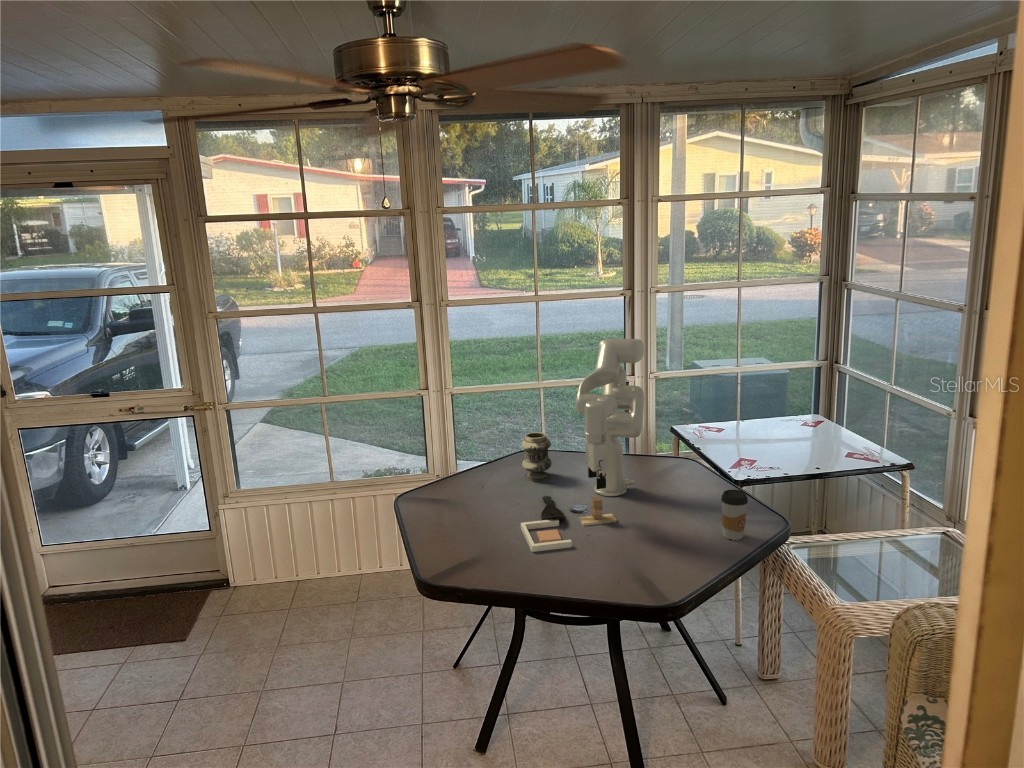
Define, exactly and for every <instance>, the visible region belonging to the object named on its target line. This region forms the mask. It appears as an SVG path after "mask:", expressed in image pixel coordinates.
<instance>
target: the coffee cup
mask: <svg viewBox="0 0 1024 768" xmlns="http://www.w3.org/2000/svg"><path fill="white" fill-rule="evenodd" d="M748 500H749V498H748V496H747V493H746V492H745V491H742V490H739V489H726V490H724V491H722V495H721V523H722V535H723V537H724V536H725V537H726V538H728V539H732V540H731V541H734V540H736V541H739V540H738V539H741V538H742V539H743V538H744V533H745V527H746V520H747V519H746V518H747V507H748V503H749V501H748ZM725 537H724V538H725ZM726 538H725V539H726ZM728 539H727V540H728ZM742 539H741V540H742Z"/></svg>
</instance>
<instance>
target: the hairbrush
mask: <svg viewBox="0 0 1024 768" xmlns="http://www.w3.org/2000/svg"><path fill="white" fill-rule="evenodd" d="M542 501H544V502H545V504H546V505H545V506H544V507H543V510H541V513H540V519H541V521H542V520H551V519H558V520H560V519H561V520H563V519H566V515H565V511H564V509H560V508H559V507H558V506H557V507H556V504H554V503H553V502H552V501H553V500H552V496H551V495H550V496H549V495H544V496H542Z"/></svg>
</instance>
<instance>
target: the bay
mask: <svg viewBox="0 0 1024 768" xmlns="http://www.w3.org/2000/svg"><path fill="white" fill-rule="evenodd" d="M559 526H560V519H550V520H542V519H541V520H534V521H527V522H520V529H521V531H522V534H523V536H524V538H525V540H526V542H527V545H528V547H529V549H530V551H531V553H534V552H536V553H537V552H543V551H551V550H559V549H560V550H561V549H569V548H573V542H572V540H571V539H565V540H562V539H561V541H554V542H545V543H540V542H539V543H535V542H534V540H533V538H532V536H531V534H530V532H529V530H535V529H543V528H553V527H559Z"/></svg>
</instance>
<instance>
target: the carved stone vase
mask: <svg viewBox="0 0 1024 768" xmlns="http://www.w3.org/2000/svg"><path fill="white" fill-rule="evenodd" d="M524 437H525V438H524V440H522V441H521V447H522V449H524V459H523V461H522V462H521V463H522V464H521V466H522V468H523V469H524V470H525V471H527V473H526V474H525V475H524V476H525V478H526V479H527V480H528V481H532V482H538V481H539V482H540V481H545V480H547V479H549V478H550V474H549V473H548V472H547V470H549V469H550V468H551V467H552V465H553V464H552V459H550V457H549V448H550V447H551V445H552V444H551V443H552V442H551V440H549V438H547V434H546V433H544V432H542V431H541V432H540V431H534V432H528V433H526V434H525V436H524Z"/></svg>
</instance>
